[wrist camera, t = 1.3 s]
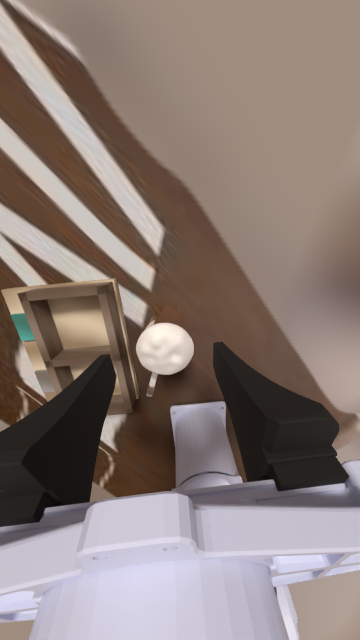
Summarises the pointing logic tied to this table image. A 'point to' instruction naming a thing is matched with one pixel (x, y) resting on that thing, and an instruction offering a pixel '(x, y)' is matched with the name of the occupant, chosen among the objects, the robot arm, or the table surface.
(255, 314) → the table surface
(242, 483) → the robot arm
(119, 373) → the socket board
